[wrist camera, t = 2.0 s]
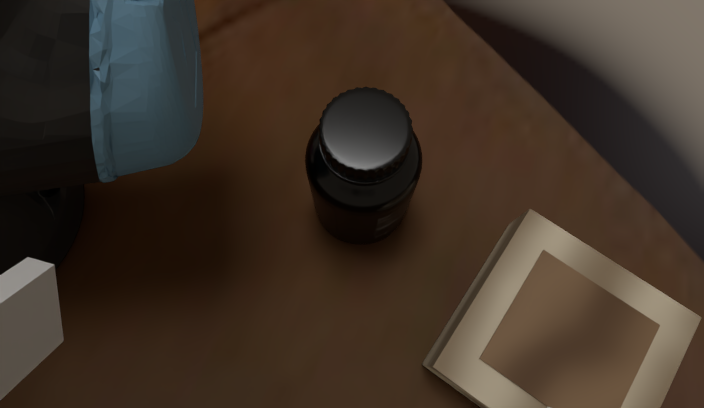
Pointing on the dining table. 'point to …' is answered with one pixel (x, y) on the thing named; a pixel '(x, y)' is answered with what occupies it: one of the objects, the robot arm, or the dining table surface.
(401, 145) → the supplement bottle
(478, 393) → the plate
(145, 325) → the dining table surface
